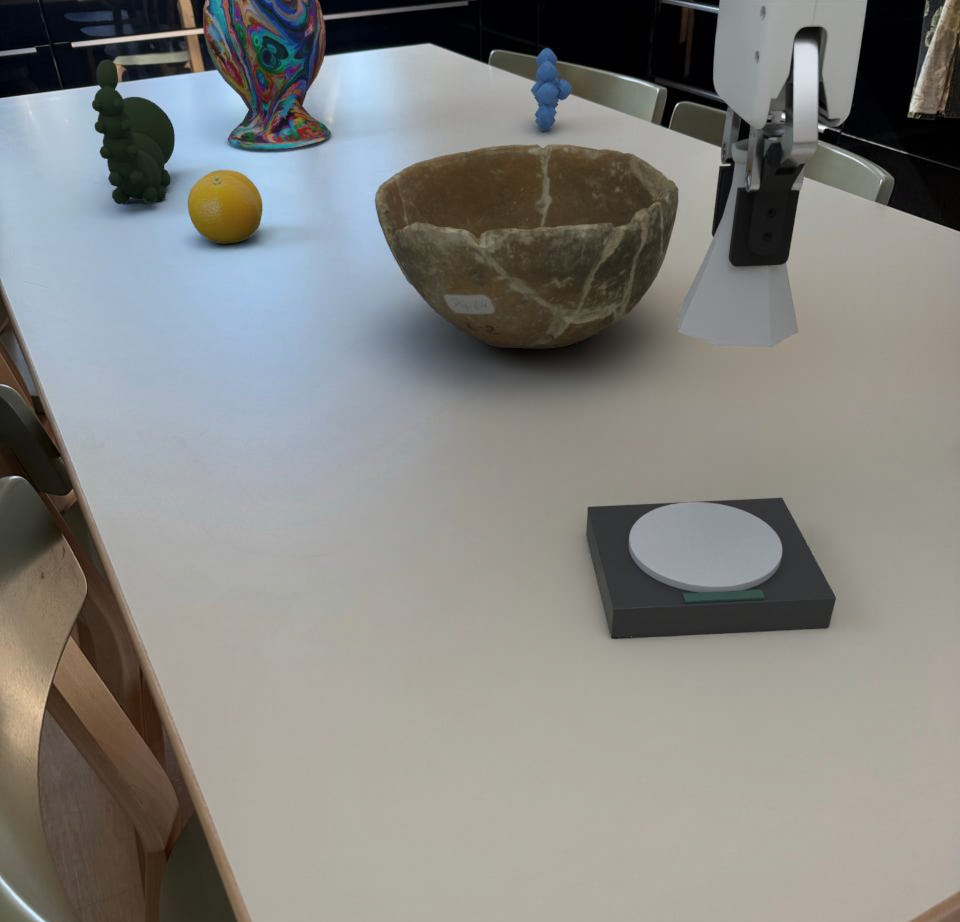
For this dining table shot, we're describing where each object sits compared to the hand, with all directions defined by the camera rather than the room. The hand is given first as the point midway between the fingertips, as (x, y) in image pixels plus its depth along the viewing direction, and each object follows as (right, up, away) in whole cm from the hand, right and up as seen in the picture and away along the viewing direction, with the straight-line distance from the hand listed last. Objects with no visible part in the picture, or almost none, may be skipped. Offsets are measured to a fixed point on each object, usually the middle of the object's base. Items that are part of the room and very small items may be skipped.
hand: (748, 247), depth 58 cm
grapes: (-4, +60, +108) cm, 124 cm away
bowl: (-10, +7, +43) cm, 45 cm away
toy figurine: (-62, +40, +85) cm, 113 cm away
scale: (0, -18, +12) cm, 21 cm away
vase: (-48, +59, +107) cm, 131 cm away
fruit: (-46, +27, +69) cm, 87 cm away
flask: (0, -4, +3) cm, 5 cm away
